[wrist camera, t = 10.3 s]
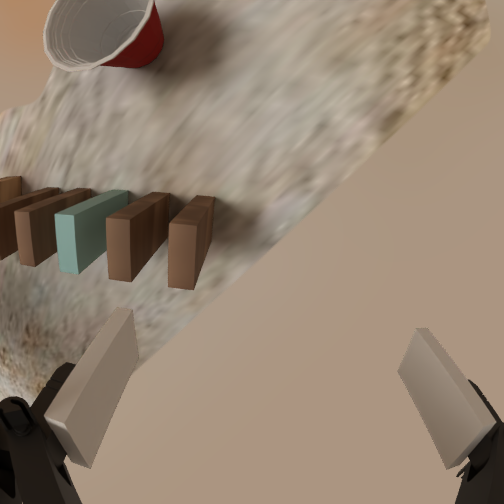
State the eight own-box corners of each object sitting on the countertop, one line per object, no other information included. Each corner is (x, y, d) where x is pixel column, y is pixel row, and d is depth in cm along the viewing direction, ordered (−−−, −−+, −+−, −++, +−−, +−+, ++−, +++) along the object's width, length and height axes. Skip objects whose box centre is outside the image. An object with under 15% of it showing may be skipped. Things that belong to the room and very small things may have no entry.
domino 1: (48, 225, 33) (-11, 258, 21) (47, 187, 31) (-17, 209, 20) (60, 226, 33) (1, 260, 22) (58, 187, 31) (-6, 210, 20)
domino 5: (193, 239, 34) (168, 287, 22) (196, 195, 32) (169, 223, 21) (211, 241, 34) (193, 290, 22) (215, 196, 32) (197, 225, 21)
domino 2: (78, 228, 33) (20, 264, 22) (77, 188, 31) (14, 211, 20) (91, 229, 33) (35, 266, 22) (90, 188, 31) (29, 212, 20)
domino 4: (151, 235, 33) (108, 279, 22) (152, 191, 32) (105, 217, 20) (168, 236, 34) (131, 282, 22) (169, 193, 32) (129, 219, 21)
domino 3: (128, 190, 32) (73, 215, 20) (128, 232, 33) (78, 274, 22) (112, 189, 32) (54, 213, 20) (113, 231, 33) (60, 271, 22)
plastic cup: (81, 62, 26) (20, 40, 15) (142, -5, 23) (102, -53, 12) (138, 109, 29) (84, 95, 17) (205, 37, 26) (184, -13, 15)
